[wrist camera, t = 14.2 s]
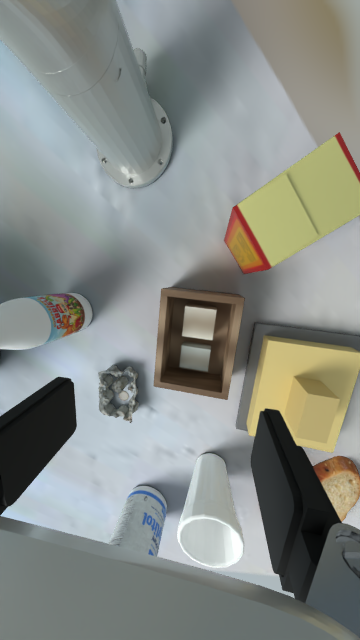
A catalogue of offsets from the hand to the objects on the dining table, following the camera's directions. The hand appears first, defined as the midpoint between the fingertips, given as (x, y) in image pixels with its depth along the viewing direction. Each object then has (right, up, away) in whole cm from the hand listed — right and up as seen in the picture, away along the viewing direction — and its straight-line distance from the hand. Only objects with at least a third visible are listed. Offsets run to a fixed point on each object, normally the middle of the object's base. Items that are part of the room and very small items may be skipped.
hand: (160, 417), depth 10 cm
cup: (+8, -26, +33) cm, 42 cm away
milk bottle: (-20, +7, +31) cm, 37 cm away
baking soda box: (+14, +18, +23) cm, 32 cm away
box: (+4, +2, +27) cm, 28 cm away
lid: (+21, -7, +26) cm, 34 cm away
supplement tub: (-7, -38, +38) cm, 54 cm away
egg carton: (-11, -10, +33) cm, 36 cm away
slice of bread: (+26, -30, +31) cm, 50 cm away
